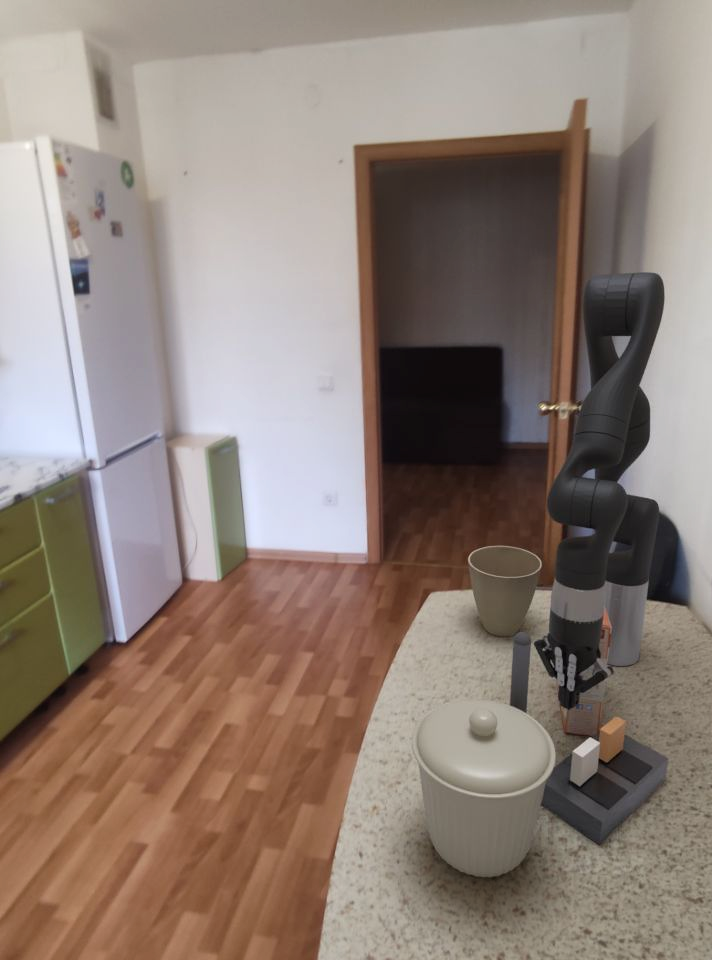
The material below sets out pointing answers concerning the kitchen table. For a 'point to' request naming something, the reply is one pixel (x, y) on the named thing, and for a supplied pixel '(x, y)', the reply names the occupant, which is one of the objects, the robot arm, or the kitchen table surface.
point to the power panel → (605, 789)
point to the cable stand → (520, 671)
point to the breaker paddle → (611, 738)
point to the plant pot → (503, 586)
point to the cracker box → (589, 695)
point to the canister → (482, 782)
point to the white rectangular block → (584, 761)
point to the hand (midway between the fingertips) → (567, 705)
